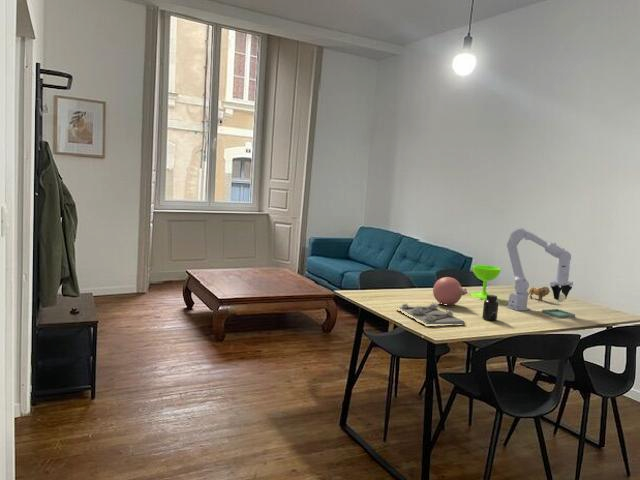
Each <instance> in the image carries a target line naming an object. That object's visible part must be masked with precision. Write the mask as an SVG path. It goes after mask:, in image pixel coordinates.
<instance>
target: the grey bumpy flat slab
mask: <svg viewBox="0 0 640 480" xmlns="http://www.w3.org/2000/svg"><path fill="white" fill-rule="evenodd" d="M428 303H429V302H428ZM398 307H399V308H400V309H402V310H403V311H405V312H407V313H408V314H410V315H412V316H413V317H415V318H417V319H419V320H421V321H423V322H424V323H426V324H464V325H465V324H466V322H465V321H464V320H463V319H461V318H458V317H457V316H454V312H453V311H452V310H451V309H448V310H446V311H443V310H441V309H439V306H438V304H437V302H435V303H434V302H431V303H429V304H428V305H426V306H425V305H423V306H422V305H420V306H419V305H415V306H409V304H408V303H406V302H404V303H401V305H400V306H398Z"/></svg>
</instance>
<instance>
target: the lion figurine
mask: <svg viewBox="0 0 640 480" xmlns="http://www.w3.org/2000/svg"><path fill="white" fill-rule="evenodd" d="M550 293H551V290H550V288H549V287H548V286H542V287H540V288H536V287H531V288H530V289H529V291H528V296H529V299H530V300H531V299H533V297H532V296H533V295H536V296H538V302H543V301H544V300H543V298H544V297H546V296H548V295H549V294H550Z"/></svg>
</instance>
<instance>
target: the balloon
mask: <svg viewBox="0 0 640 480" xmlns="http://www.w3.org/2000/svg"><path fill="white" fill-rule="evenodd" d="M432 294H433V297H434V299H435V300H436V301H437V302H438V303H439V304H441V303H442V304H441V305H443V304H447V305H446V306H452V305H455V304H457V303H458V302H459V301H460V300H461V299H462V296H465V295H467V294H468V291H467V288H466V287H464V288H463V287H462V285H461V283H460V282H459V281H458V280H457V279H456V278H454V277H451V276H450V277H449V276H445V277H441V278H439V279H437V281H436V282H435V283H434V285H433V289H432Z"/></svg>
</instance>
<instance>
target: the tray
mask: <svg viewBox="0 0 640 480" xmlns="http://www.w3.org/2000/svg"><path fill="white" fill-rule="evenodd" d="M541 311H542V312H541V313H542V314H545V315H549V316H552V317H555V318H557V319H565V318H567V319H568V318H575V317H576V314H575V313H572V312H569V311H566V310H563V309H559V308H553V309H552V308H551V309H549V308H548V309H542V310H541Z"/></svg>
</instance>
